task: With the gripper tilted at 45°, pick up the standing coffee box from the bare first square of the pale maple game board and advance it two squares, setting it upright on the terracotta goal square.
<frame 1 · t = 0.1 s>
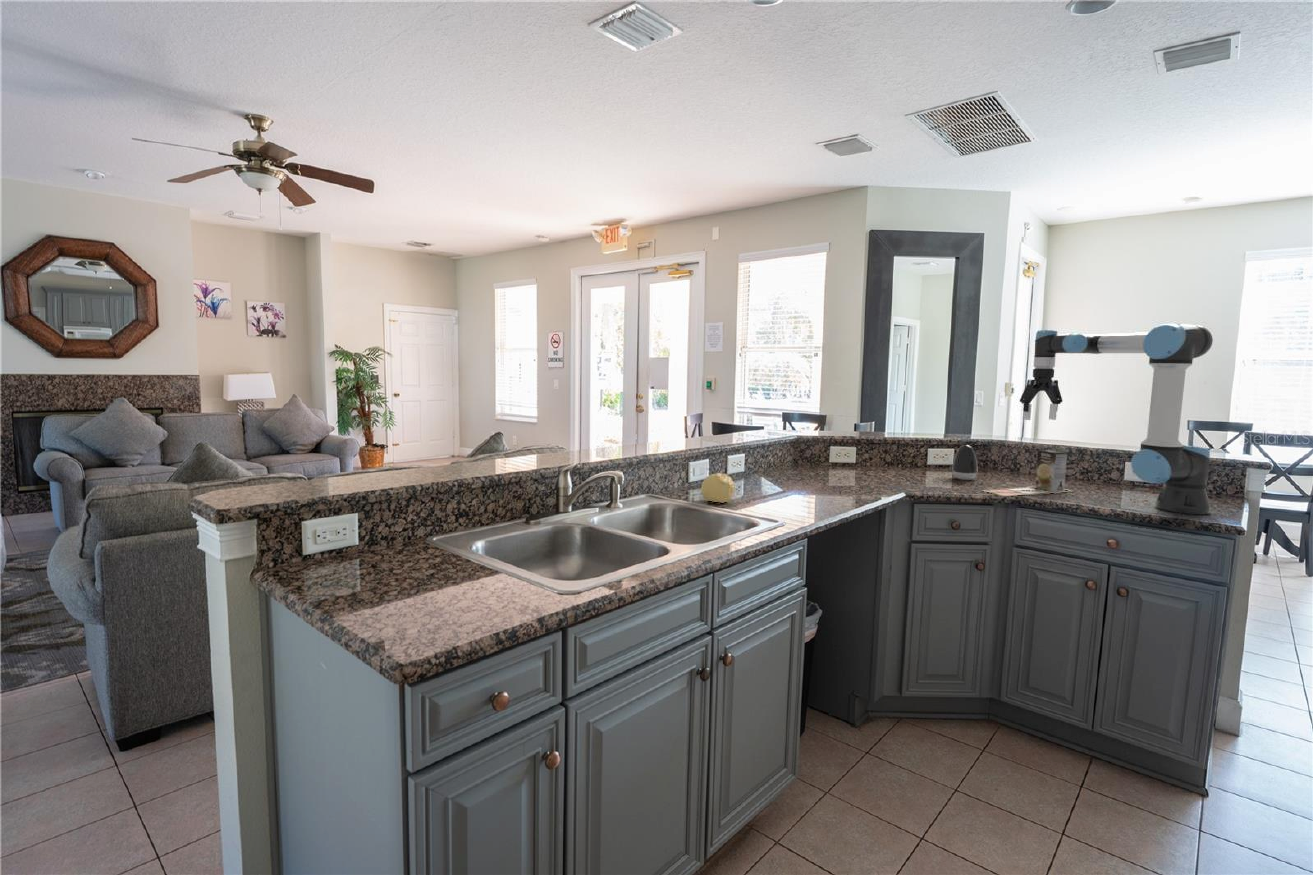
hand: (1039, 419, 270), 28 cm above the worktop, tool pointing down, fingers open, 13 cm apart
dark grey dome speaker: (964, 479, 288), on the worktop
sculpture: (717, 502, 237), on the worktop
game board: (1027, 491, 262), on the worktop
coffee box: (1049, 490, 265), resting on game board
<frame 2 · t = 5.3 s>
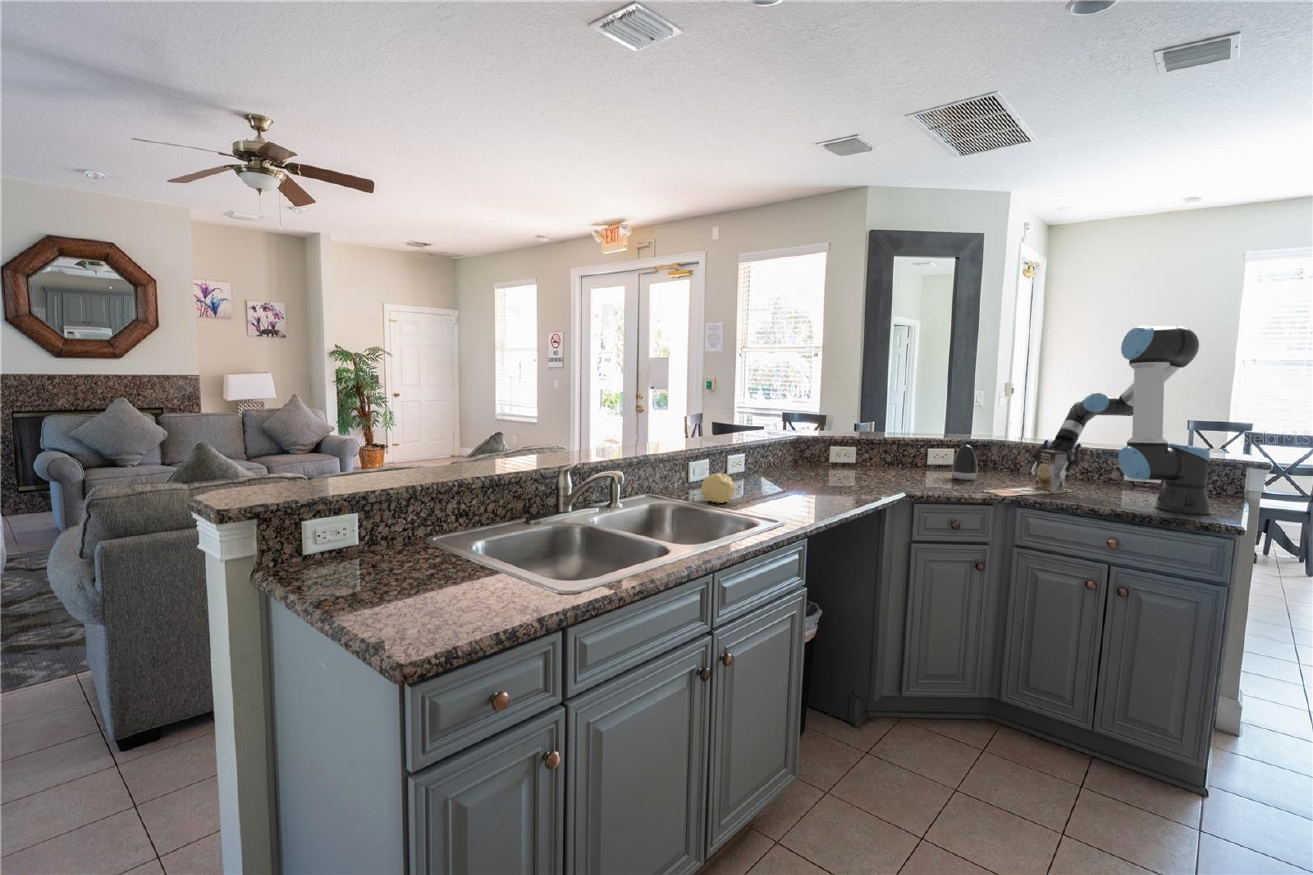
hand: (1046, 474, 263), 7 cm above the worktop, tool tilted 45°, fingers closed on coffee box, 10 cm apart
coffee box: (1049, 490, 265), resting on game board, touching gripper
everything else where it was.
when the fingers open (8 cm above the worktop, at t = 11.5 s): coffee box drops 1 cm, resting on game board.
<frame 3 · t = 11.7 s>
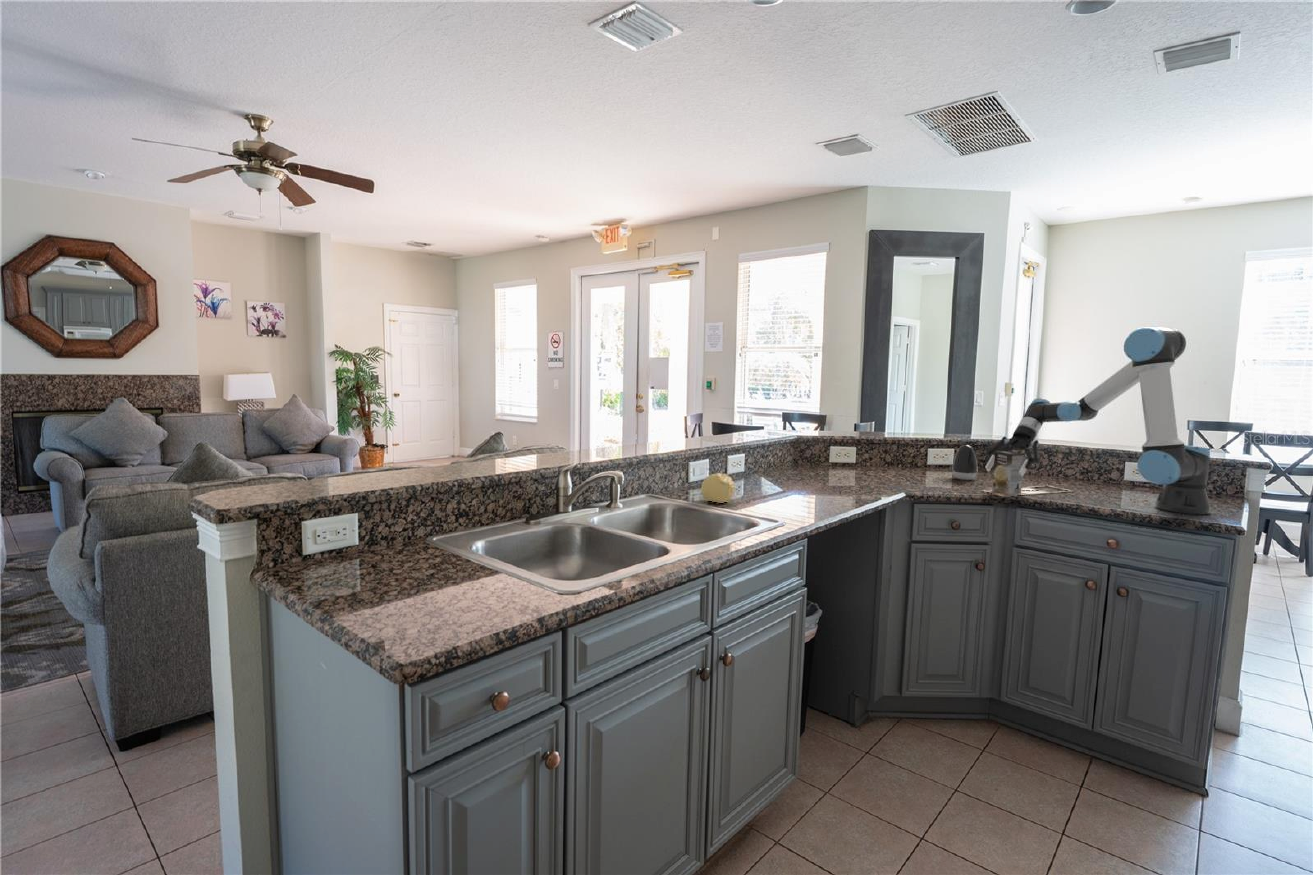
hand: (1003, 471, 255), 9 cm above the worktop, tool tilted 45°, fingers open, 12 cm apart
coffee box: (1006, 493, 258), resting on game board
everything else where it was.
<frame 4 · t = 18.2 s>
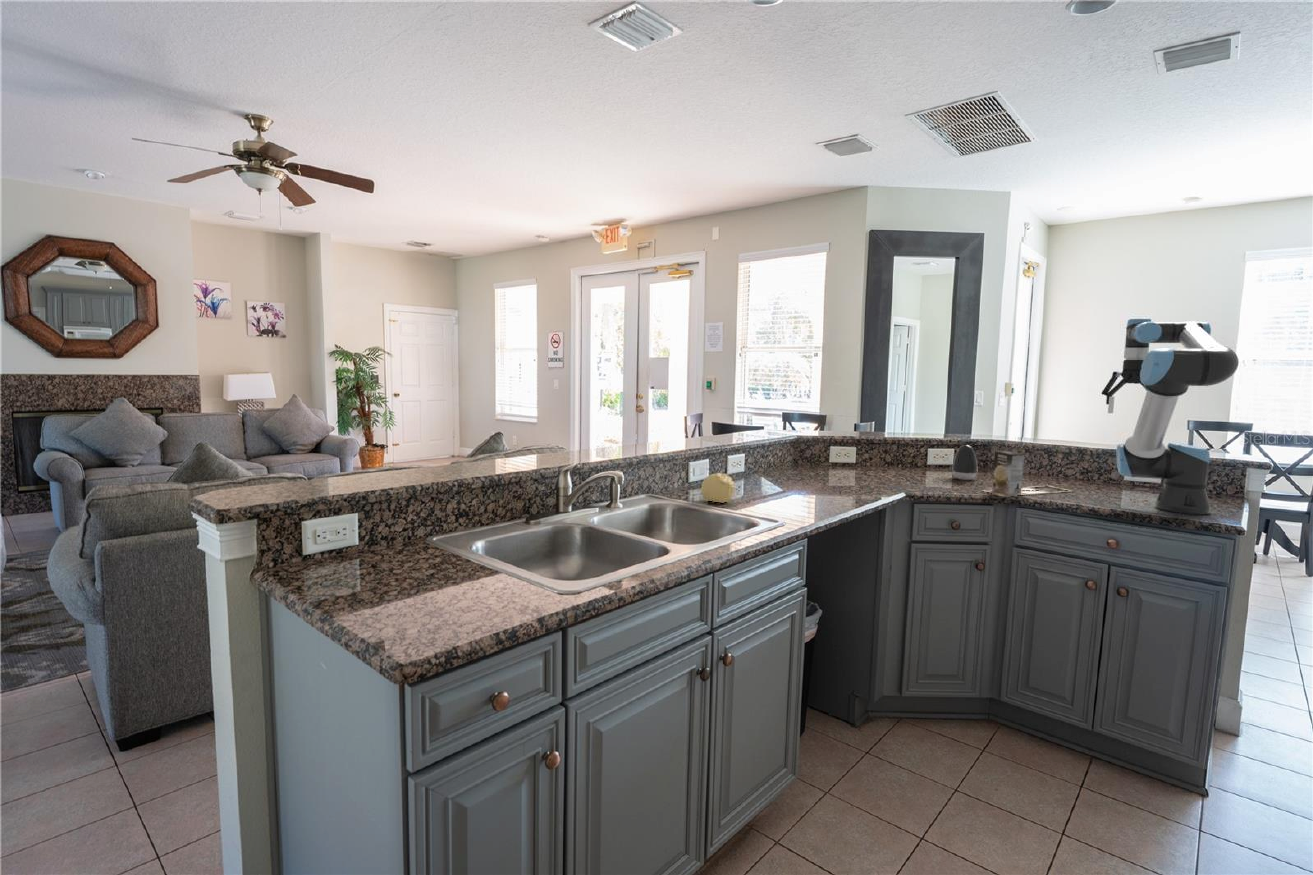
hand: (1130, 414, 253), 32 cm above the worktop, tool pointing down, fingers open, 13 cm apart
nothing on the worktop moved.
at the end: coffee box 0.4 cm from the target spot on the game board, point 0.1 cm above the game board's base; coffee box tilted 0°; the gripper is holding nothing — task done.
